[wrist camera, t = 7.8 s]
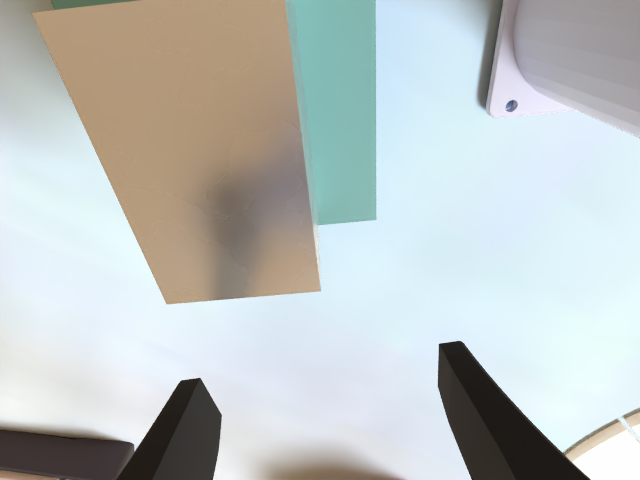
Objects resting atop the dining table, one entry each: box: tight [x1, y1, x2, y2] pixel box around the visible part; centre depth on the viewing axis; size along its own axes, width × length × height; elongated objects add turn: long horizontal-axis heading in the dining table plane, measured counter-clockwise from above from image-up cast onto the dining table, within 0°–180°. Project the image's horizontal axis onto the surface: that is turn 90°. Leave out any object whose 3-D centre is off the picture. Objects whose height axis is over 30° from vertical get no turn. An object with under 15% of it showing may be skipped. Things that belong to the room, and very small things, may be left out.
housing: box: [32, 0, 321, 304], centre depth 11 cm, size 5×10×5 cm, turn 5°
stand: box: [51, 0, 376, 225], centre depth 15 cm, size 10×10×4 cm
